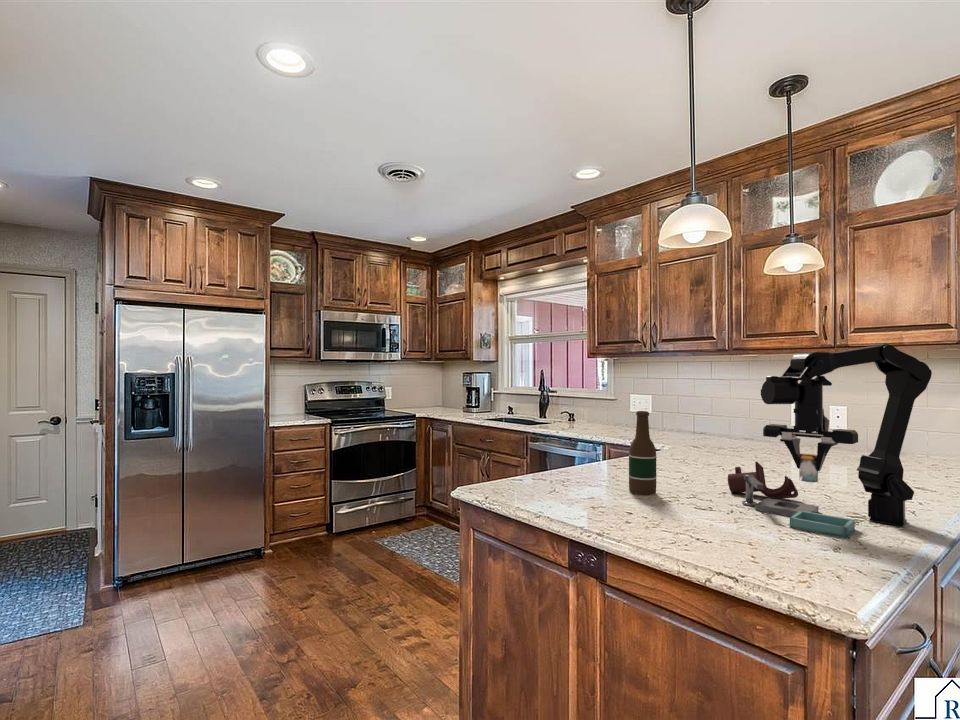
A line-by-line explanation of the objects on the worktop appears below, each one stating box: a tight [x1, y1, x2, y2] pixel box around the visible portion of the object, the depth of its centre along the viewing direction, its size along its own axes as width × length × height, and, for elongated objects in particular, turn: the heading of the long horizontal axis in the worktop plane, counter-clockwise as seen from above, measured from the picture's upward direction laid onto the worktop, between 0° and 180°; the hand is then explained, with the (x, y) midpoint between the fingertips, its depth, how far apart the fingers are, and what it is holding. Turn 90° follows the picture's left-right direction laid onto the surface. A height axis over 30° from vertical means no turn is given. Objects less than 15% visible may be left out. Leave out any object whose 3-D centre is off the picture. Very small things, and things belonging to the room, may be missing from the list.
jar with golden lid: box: [798, 453, 819, 483], centre depth 126 cm, size 4×4×6 cm
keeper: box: [744, 475, 763, 490], centre depth 138 cm, size 13×3×1 cm, turn 165°
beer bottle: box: [628, 410, 657, 496], centre depth 156 cm, size 8×8×24 cm
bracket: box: [727, 461, 799, 500], centre depth 152 cm, size 6×17×10 cm, turn 53°
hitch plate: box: [741, 481, 819, 517], centre depth 138 cm, size 17×10×6 cm, turn 46°
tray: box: [789, 511, 856, 539], centre depth 121 cm, size 11×9×2 cm
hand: (808, 469), depth 126 cm, fingers closed on jar with golden lid, 4 cm apart
